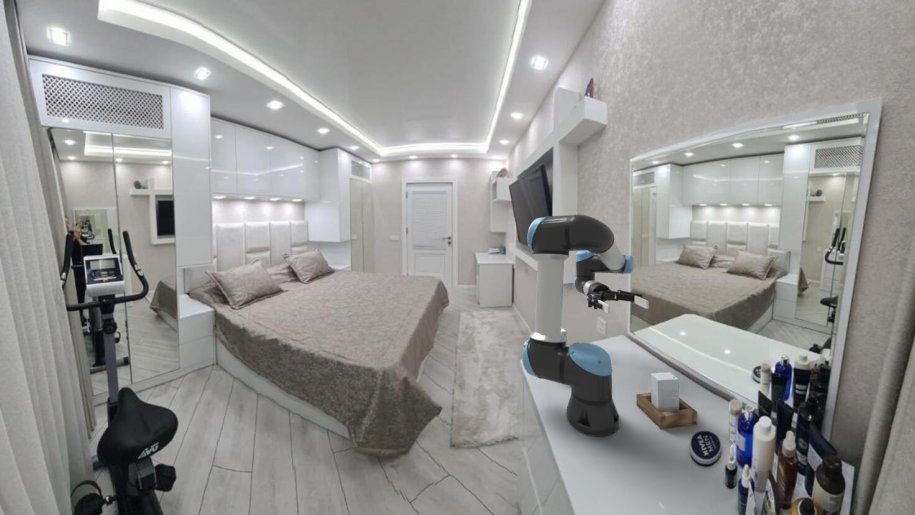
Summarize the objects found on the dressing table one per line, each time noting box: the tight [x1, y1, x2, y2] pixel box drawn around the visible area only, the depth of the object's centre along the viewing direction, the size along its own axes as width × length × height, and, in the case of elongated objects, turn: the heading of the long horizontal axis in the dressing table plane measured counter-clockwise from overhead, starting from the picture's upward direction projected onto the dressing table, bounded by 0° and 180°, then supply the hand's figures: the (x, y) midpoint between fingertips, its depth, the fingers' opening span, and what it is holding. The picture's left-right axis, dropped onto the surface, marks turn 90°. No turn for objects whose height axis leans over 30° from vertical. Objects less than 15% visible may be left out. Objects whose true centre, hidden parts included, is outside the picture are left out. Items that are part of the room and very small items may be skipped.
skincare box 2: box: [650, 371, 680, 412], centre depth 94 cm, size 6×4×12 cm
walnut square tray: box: [636, 391, 698, 430], centre depth 95 cm, size 11×11×4 cm
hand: (628, 307), depth 105 cm, fingers open, 13 cm apart
